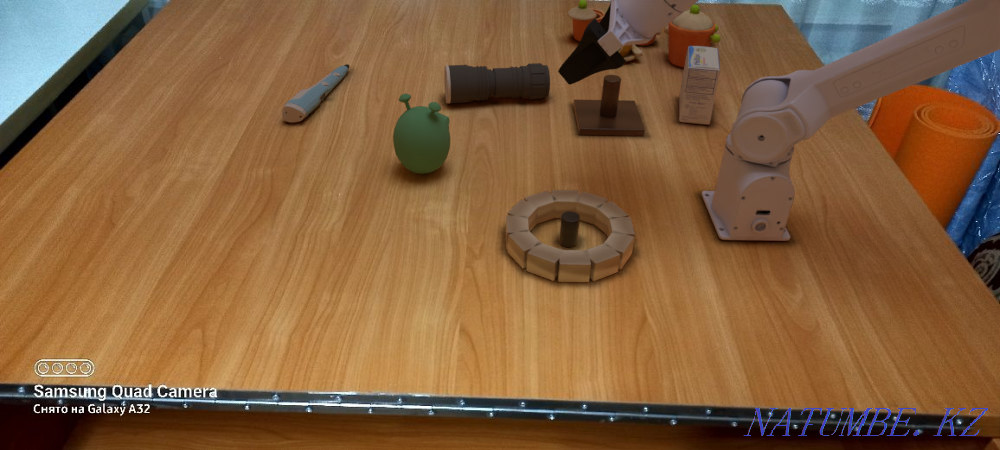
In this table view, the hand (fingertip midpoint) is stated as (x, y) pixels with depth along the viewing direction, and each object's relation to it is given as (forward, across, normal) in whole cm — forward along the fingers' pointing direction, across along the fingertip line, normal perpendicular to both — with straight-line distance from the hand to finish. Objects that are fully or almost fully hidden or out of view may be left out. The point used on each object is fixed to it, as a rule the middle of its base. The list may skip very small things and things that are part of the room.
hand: (575, 64), depth 85 cm
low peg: (+8, +14, +14) cm, 21 cm away
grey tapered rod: (+38, -5, -20) cm, 43 cm away
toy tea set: (+12, -44, +9) cm, 46 cm away
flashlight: (+22, -15, -2) cm, 27 cm away
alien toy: (+22, +7, -2) cm, 23 cm away
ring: (+8, +14, +14) cm, 21 cm away
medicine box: (+3, -24, +18) cm, 30 cm away
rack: (+10, -16, +10) cm, 22 cm away
